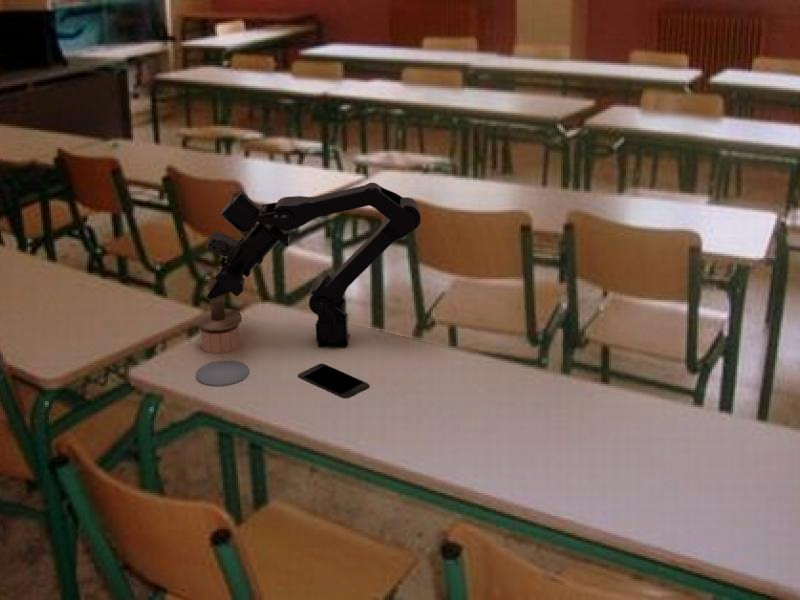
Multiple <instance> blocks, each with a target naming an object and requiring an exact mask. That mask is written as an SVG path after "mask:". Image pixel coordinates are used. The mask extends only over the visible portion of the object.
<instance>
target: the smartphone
mask: <svg viewBox="0 0 800 600" xmlns="http://www.w3.org/2000/svg"><path fill="white" fill-rule="evenodd" d="M297 378H299V379H300V380H302V381H305V382H307V383H309V384H310V385H313V386H316V387H317V388H319V389H322V390H324V391H326V392H328V393H331V394H332V395H335V396H337V397H339V398H341V399H350V398H352V397H354V396H356V395H358V394H359V393H362V392H364V391H367V390H368V389H369V388H370V384H369V383H368V382H367V381H363V380H362V379H360V378H357V377H355V376H352V375H350V374H349V373H345V372H344V371H341V370H339V369H337V368H334V367H332V366H329V365H328V364H324V363H319V364H316V365H314V366H312V367H309V368H308V369H305V370H303V371H302V372H300V373H298V374H297Z"/></svg>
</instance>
